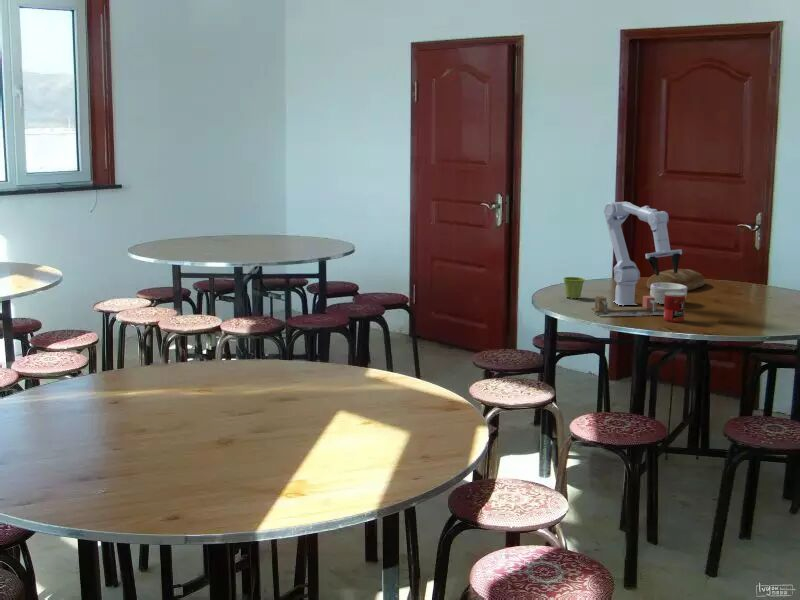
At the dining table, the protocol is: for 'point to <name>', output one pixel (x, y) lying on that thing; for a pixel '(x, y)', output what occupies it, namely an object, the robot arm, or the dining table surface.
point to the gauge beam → (602, 307)
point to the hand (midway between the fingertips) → (666, 274)
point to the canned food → (674, 306)
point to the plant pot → (573, 286)
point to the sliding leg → (649, 302)
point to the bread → (678, 278)
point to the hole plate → (632, 313)
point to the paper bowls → (665, 290)
